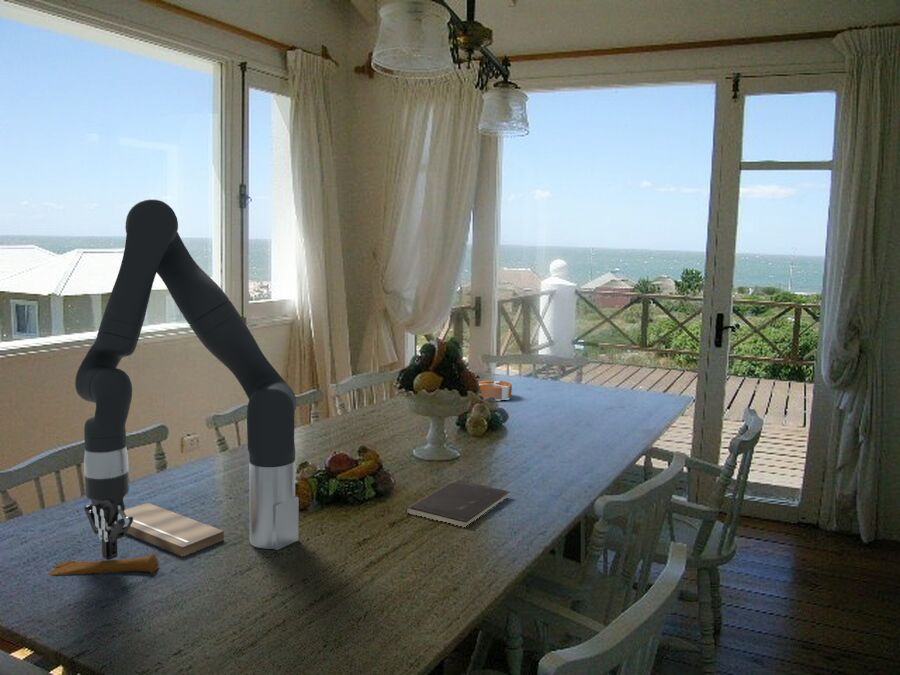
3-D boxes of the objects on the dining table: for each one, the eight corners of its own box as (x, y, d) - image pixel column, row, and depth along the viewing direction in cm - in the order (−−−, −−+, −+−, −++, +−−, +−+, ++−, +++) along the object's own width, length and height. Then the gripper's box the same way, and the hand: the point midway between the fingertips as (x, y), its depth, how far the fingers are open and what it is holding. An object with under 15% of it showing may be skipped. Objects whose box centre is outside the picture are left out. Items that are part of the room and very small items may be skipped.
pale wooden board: (223, 540, 150) (223, 530, 149) (182, 556, 141) (182, 546, 141) (147, 511, 164) (147, 502, 163) (105, 524, 155) (105, 515, 155)
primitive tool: (45, 579, 132) (45, 560, 131) (58, 565, 137) (58, 548, 137) (154, 577, 134) (154, 559, 134) (163, 564, 139) (162, 547, 139)
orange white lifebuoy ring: (467, 397, 294) (493, 393, 303) (493, 404, 283) (519, 399, 292) (468, 380, 293) (494, 376, 302) (494, 386, 282) (520, 383, 291)
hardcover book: (509, 500, 180) (509, 491, 180) (465, 531, 160) (466, 521, 160) (453, 487, 188) (453, 479, 187) (405, 515, 168) (405, 506, 167)
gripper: (145, 472, 135) (148, 560, 137) (105, 458, 142) (108, 542, 145) (107, 483, 129) (111, 574, 131) (67, 468, 136) (71, 555, 138)
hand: (109, 557), depth 138 cm, fingers closed
